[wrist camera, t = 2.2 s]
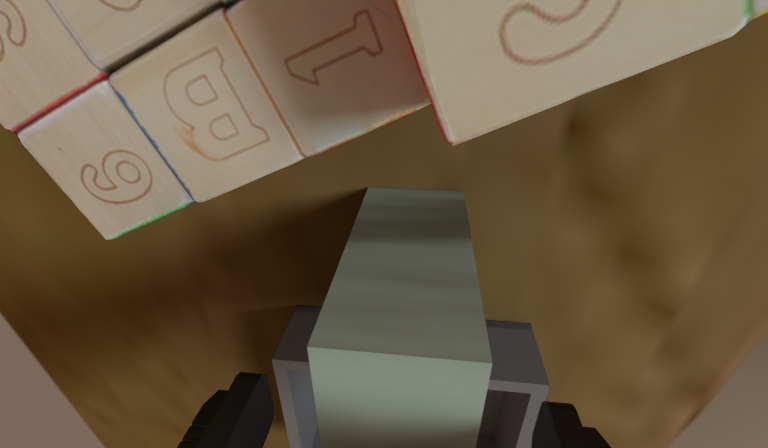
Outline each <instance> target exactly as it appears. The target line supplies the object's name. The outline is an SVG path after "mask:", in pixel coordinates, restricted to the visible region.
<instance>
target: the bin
mask: <svg viewBox="0 0 768 448" xmlns="http://www.w3.org/2000/svg"><path fill="white" fill-rule="evenodd" d="M321 309H322V307H311V306H298V305H297V306H296V309H295V311H294V313H293V315H292V317H291V319H290V321H289V323H288V325H287V327H286V330H285V332H284V334H283V336H282V338H281V340H280V342H279V344H278V346H277V349H276V351H275V353H274V355H273V357H272V364H273V369H274V373H275V378H276V383H277V387H278V392H279V397H280V402H281V406H282V411H283V416H284V420H285V425H286V430H287V435H288V439H289V444H290V448H321V441H320V434H319V427H318V420H317V413H316V406H315V399H314V392H313V385H312V378H311V371H310V364H309V357H308V350H307V346H308V343H309V340H310V338H311V335H312V333H313V330H314V327H315V325H316V322H317V320H318V317H319V314H320V312H321ZM485 322H486V328H487V334H488V339H489V345H490V351H491V357H492V363H493V364H492V369H491V374H490V379H489V384H488V389H487V394H486V399H485V404H484V409H483V414H482V419H481V424H480V429H479V434H478V439H477V444H476V448H530V446H531V443H532V434H533V430H534V427H535V423H536V420H537V417H538V413H539V410H540V406H541V403H542V402H543V401H545V399H546V396H547V393H548V390H549V387H550V384H549V381H548V378H547V375H546V371H545V368H544V365H543V362H542V359H541V356H540V352H539V349H538V346H537V343H536V340H535V336H534V333H533V330H532V327H531V324H527V323H514V322H501V321H489V320H485Z"/></svg>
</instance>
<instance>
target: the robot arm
mask: <svg viewBox="0 0 768 448" xmlns="http://www.w3.org/2000/svg"><path fill="white" fill-rule="evenodd" d="M273 412H274V408H273V402H272V397H271V393H270V388H269V384H268V379H267V376H266V375H265V374H255V373H245V372H240V373H239V374H238V375H237V376H236V377H235V379H234V381H233V383H232V385H231V386H230V388H229V390H228V391H225V390H218V391H217V392H216V393H215V394H214V395H213V396H212V397H211V398H210V399H209V400H208V401H206V402H205V403H204V404H203V406H202V407H201V409H200V411H199V412H198V414H197V416H196V417H195V419H194V420H193V422H192V426H191V427H189V429H188V430H187V432H186V434H185V435H184V437H183V441H182V442H180V444H179V445H178V447H177V448H263V445H264V443H265V440H266V438H267V435H268V433H269V430H270V427H271V424H272V420H273ZM532 448H611V447H610V446H609V444H608V443H607V442H606V441H605V440H604V438H603V437H602V436H601V435H600V433H599V432H598V431H597V430H596V429H595V428H590V427H582V424H581V421H580V419H579V416H578V413H577V411H576V409H575V407H574V406H573V405H572V404H568V403H557V402H546V401H543V402H542V403H541V406H540V410H539V413H538V417H537V420H536V423H535V427H534V430H533V434H532Z"/></svg>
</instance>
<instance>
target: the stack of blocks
mask: <svg viewBox="0 0 768 448" xmlns="http://www.w3.org/2000/svg"><path fill="white" fill-rule="evenodd" d="M766 13H768V0H0V123H1V124H2V125H3V127H4V128H5V129H8V130H10V131H12V132H14V133H16V134H17V135H18V137H19V138H20V140H21V142H22V143H23V145H24V146H25V147H26V149H27V150H28V151H29V152H30V153H31V154H32V156H33V157H34V158H35V159H36V160H37V161H38V162H39V164H40V165H41V166H42V167H43V168H44V169H45V171H46V172H47V173H48V174H49V175H50V176H51V178H52V179H53V180H54V181H55V182H56V183H57V185H58V186H59V187H60V188H61V189H62V190H63V191H64V192H65V194H66V195H67V196H68V197H69V198H70V199H71V200H72V201H73V202H74V204H75V205H76V206H77V207H78V209H79V210H80V211H81V212H82V213H83V214H84V215H85V216H86V217H87V219H88V220H89V221H90V222H91V223H92V224H93V226H94V227H95V228H96V229H97V230H98V231H99V232H100V233H101V235H102V236H103V237H104V238H105V239H106V240H111V239H115V238H118V237H120V236H122V235H124V234H126V233H129V232H131V231H133V230H136V229H138V228H140V227H142V226H145V225H147V224H149V223H151V222H154V221H156V220H159V219H161V218H164V217H166V216H168V215H170V214H173V213H175V212H177V211H179V210H181V209H183V208H185V207H187V206H189V205H190V204H192V203H194V202H196V201H197V202H199V203H201V202H204V201H207V200H210V199H212V198H215V197H217V196H219V195H222V194H224V193H226V192H229V191H231V190H233V189H236V188H238V187H240V186H243V185H245V184H247V183H249V182H252V181H254V180H256V179H259V178H261V177H263V176H266V175H268V174H270V173H273V172H275V171H277V170H280V169H282V168H284V167H287V166H289V165H291V164H294V163H296V162H298V161H300V160H302V159H303V158H305V157H309V156H313V155H316V154H320V153H323V152H324V151H326V150H328V149H331V148H333V147H336V146H339V145H341V144H343V143H345V142H348V141H350V140H352V139H354V138H357V137H359V136H361V135H363V134H366V133H368V132H370V131H372V130H374V129H376V128H379V127H381V126H383V125H385V124H388V123H390V122H392V121H395V120H397V119H399V118H401V117H404V116H406V115H408V114H411V113H413V112H415V111H417V110H419V109H421V108H423V107H425V106H427V105H429V104H431V105H432V108H433V110H434V113H435V116H436V119H437V122H438V124H439V127H440V129H441V132H442V134H443V136H444V139H445V141H446V142H447V143H448V144H450V145H452V146H454V145H456V144H459V143H462V142H464V141H467V140H470V139H473V138H475V137H478V136H480V135H483V134H485V133H488V132H490V131H493V130H495V129H498V128H500V127H503V126H505V125H508V124H510V123H513V122H515V121H518V120H520V119H523V118H525V117H528V116H530V115H533V114H535V113H538V112H541V111H543V110H546V109H548V108H551V107H553V106H556V105H558V104H561V103H563V102H566V101H568V100H570V99H573V98H575V97H578V96H580V95H583V94H586V93H588V92H591V91H593V90H596V89H599V88H601V87H604V86H606V85H609V84H612V83H614V82H617V81H619V80H622V79H625V78H627V77H630V76H632V75H635V74H637V73H640V72H643V71H645V70H648V69H650V68H653V67H655V66H658V65H660V64H663V63H666V62H668V61H671V60H673V59H676V58H678V57H681V56H684V55H686V54H689V53H691V52H694V51H696V50H699V49H701V48H704V47H707V46H709V45H712V44H714V43H717V42H719V41H722V40H724V39H727V38H730V37H732V36H733V35H735V34H736V33H737V32H738V31H739V30H740V29H741V28H742V27H744V26H745V25H746V24H747V23H748V22H749V21H750V20H752V19H754V18H756V17H759V16H761V15H764V14H766Z"/></svg>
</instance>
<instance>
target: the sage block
mask: <svg viewBox="0 0 768 448" xmlns="http://www.w3.org/2000/svg"><path fill="white" fill-rule="evenodd" d="M307 350H308V357H309V364H310V371H311V378H312V385H313V392H314V399H315V406H316V413H317V420H318V427H319V434H320V441H321V448H476V444H477V439H478V434H479V429H480V424H481V419H482V414H483V409H484V404H485V399H486V394H487V389H488V384H489V379H490V374H491V369H492V364H493V363H492V357H491V351H490V345H489V339H488V334H487V328H486V322H485V316H484V310H483V304H482V298H481V292H480V287H479V281H478V275H477V269H476V263H475V257H474V251H473V245H472V240H471V234H470V228H469V222H468V216H467V210H466V204H465V198H464V192H463V191H446V190H423V189H400V188H378V187H368V189H367V192H366V194H365V197H364V199H363V202H362V205H361V207H360V210H359V213H358V215H357V218H356V220H355V223H354V226H353V228H352V231H351V233H350V236H349V239H348V241H347V244H346V246H345V249H344V252H343V254H342V257H341V259H340V262H339V265H338V267H337V270H336V273H335V275H334V278H333V280H332V283H331V286H330V288H329V291H328V293H327V296H326V299H325V301H324V304H323V306H322V309H321V312H320V314H319V317H318V320H317V322H316V325H315V327H314V330H313V333H312V335H311V338H310V340H309V343H308V346H307Z"/></svg>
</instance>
